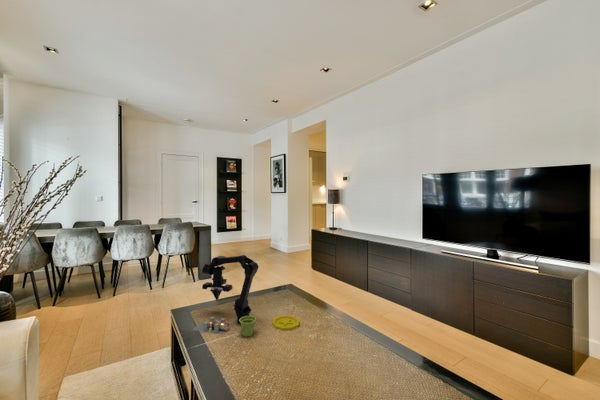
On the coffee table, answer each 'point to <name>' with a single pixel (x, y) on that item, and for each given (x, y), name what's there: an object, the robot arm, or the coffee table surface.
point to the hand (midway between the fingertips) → (217, 300)
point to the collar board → (204, 327)
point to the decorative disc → (285, 322)
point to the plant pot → (247, 325)
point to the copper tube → (221, 325)
